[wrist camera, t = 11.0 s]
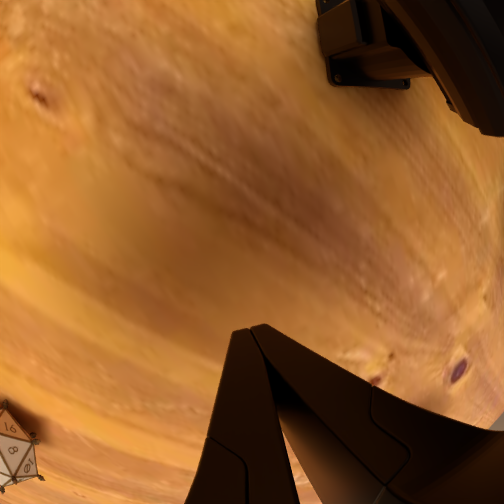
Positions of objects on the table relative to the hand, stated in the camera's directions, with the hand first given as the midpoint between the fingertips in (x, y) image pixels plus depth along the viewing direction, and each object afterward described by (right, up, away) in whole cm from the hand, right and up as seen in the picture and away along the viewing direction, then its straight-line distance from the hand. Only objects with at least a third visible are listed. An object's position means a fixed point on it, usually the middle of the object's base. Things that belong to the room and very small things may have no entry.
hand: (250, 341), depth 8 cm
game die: (-23, -14, +13) cm, 30 cm away
